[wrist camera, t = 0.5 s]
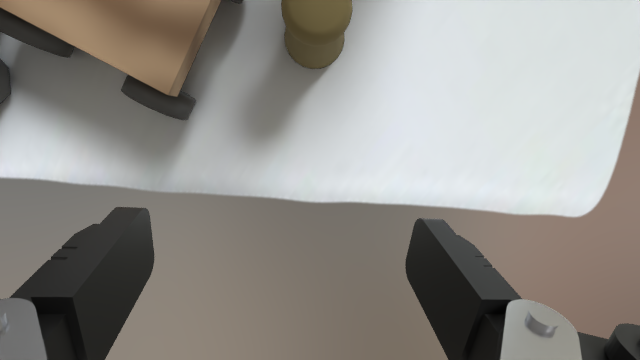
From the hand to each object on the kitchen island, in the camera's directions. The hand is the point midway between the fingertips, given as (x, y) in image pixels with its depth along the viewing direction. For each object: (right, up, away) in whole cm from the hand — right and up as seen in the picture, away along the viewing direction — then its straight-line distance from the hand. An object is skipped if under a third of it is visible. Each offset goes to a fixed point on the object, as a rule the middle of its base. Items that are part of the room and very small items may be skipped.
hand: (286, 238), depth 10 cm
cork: (0, +16, +24) cm, 29 cm away
